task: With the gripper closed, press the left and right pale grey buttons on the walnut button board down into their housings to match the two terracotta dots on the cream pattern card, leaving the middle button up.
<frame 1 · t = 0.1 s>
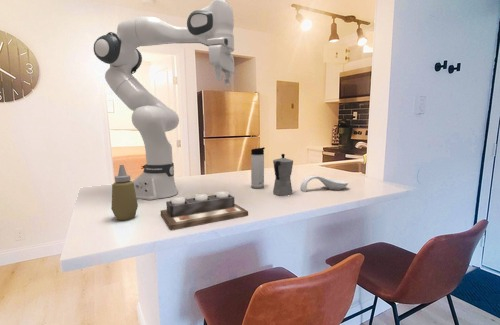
hand: (223, 82, 106), 48 cm above the counter, tool pointing down, fingers open, 8 cm apart
button left: (178, 202, 89), point 5 cm above the counter, slide at 0.0 cm
spoon rest: (324, 190, 127), on the counter
squeeze bottle: (125, 218, 90), on the counter
button board: (204, 215, 92), on the counter
button middle: (201, 199, 93), point 5 cm above the counter, slide at 0.0 cm
button right: (222, 196, 97), point 5 cm above the counter, slide at 0.0 cm
coffeepot: (281, 194, 119), on the counter
travel mug: (258, 188, 132), on the counter
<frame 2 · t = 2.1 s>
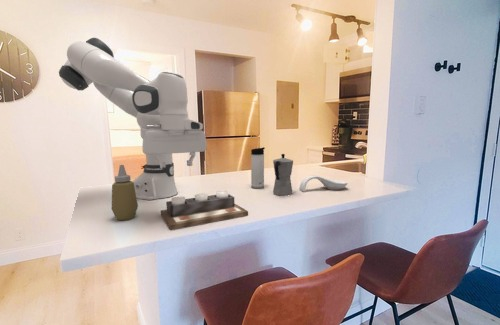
hand: (176, 166, 88), 17 cm above the counter, tool pointing down, fingers open, 7 cm apart
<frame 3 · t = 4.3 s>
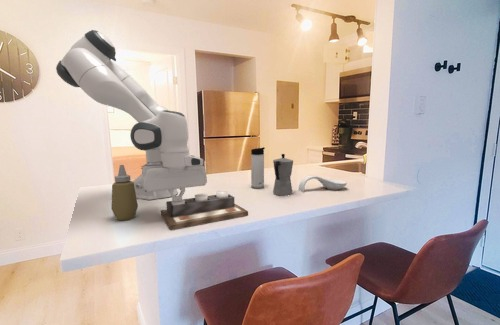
hand: (177, 201, 89), 5 cm above the counter, tool pointing down, fingers closed, pressing on button left
button left: (178, 205, 89), point 4 cm above the counter, slide at 1.1 cm, touching gripper
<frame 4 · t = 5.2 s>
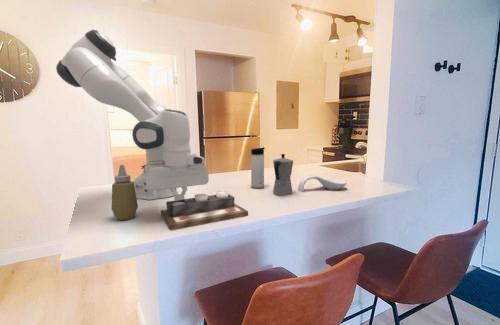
hand: (179, 200, 89), 6 cm above the counter, tool pointing down, fingers closed
button left: (178, 208, 90), point 3 cm above the counter, slide at 1.9 cm
everything else where it was.
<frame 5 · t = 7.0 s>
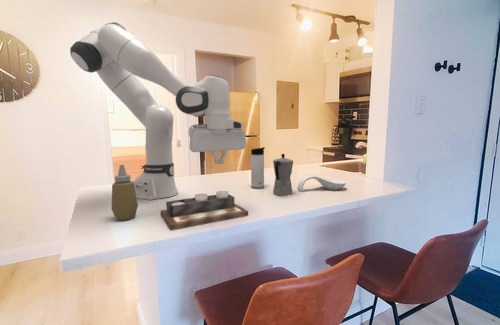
hand: (219, 163, 94), 17 cm above the counter, tool pointing down, fingers closed
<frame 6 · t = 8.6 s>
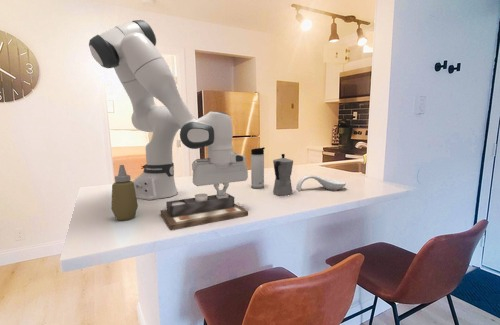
hand: (221, 195, 96), 6 cm above the counter, tool pointing down, fingers closed, pressing on button right
button right: (222, 199, 97), point 4 cm above the counter, slide at 1.0 cm, touching gripper
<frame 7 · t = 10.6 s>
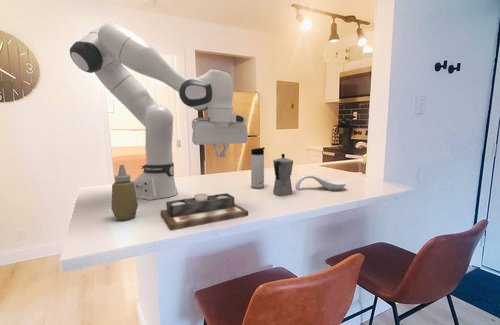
hand: (221, 156, 95), 20 cm above the counter, tool pointing down, fingers closed
button right: (222, 201, 97), point 3 cm above the counter, slide at 1.9 cm
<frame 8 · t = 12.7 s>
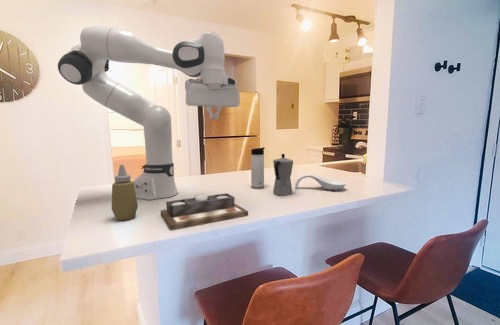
hand: (214, 118, 99), 33 cm above the counter, tool pointing down, fingers closed
at the end: button left slide at 1.9 cm; button right slide at 1.9 cm; button middle slide at 0.0 cm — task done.
